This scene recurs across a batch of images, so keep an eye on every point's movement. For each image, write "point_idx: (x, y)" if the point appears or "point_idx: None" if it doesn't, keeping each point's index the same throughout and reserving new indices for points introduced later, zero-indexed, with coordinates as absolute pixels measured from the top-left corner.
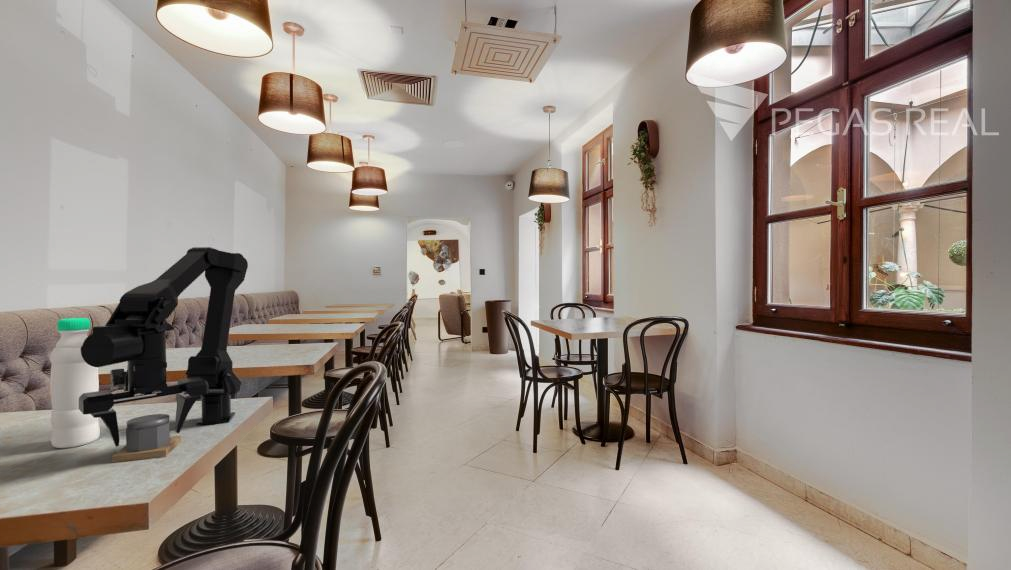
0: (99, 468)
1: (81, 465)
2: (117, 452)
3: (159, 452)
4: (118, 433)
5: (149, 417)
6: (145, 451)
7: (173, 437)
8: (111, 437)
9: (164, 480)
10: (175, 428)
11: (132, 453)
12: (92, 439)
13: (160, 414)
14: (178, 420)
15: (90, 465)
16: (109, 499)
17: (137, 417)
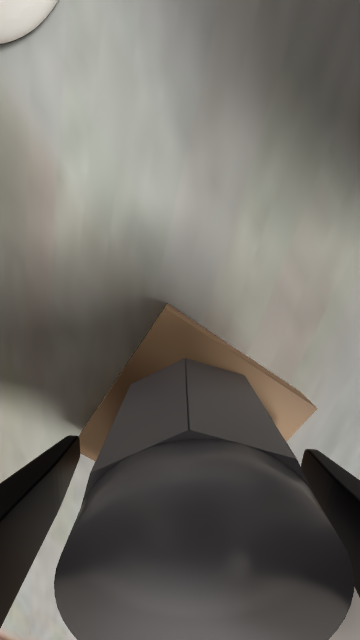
0: (47, 449)
1: (4, 376)
2: (89, 423)
3: None
4: (32, 559)
5: (225, 568)
6: None
7: (290, 406)
8: (28, 465)
9: None
10: (317, 463)
11: None
12: (33, 14)
13: (324, 548)
14: (353, 566)
15: (27, 400)
16: (49, 634)
17: (158, 491)
